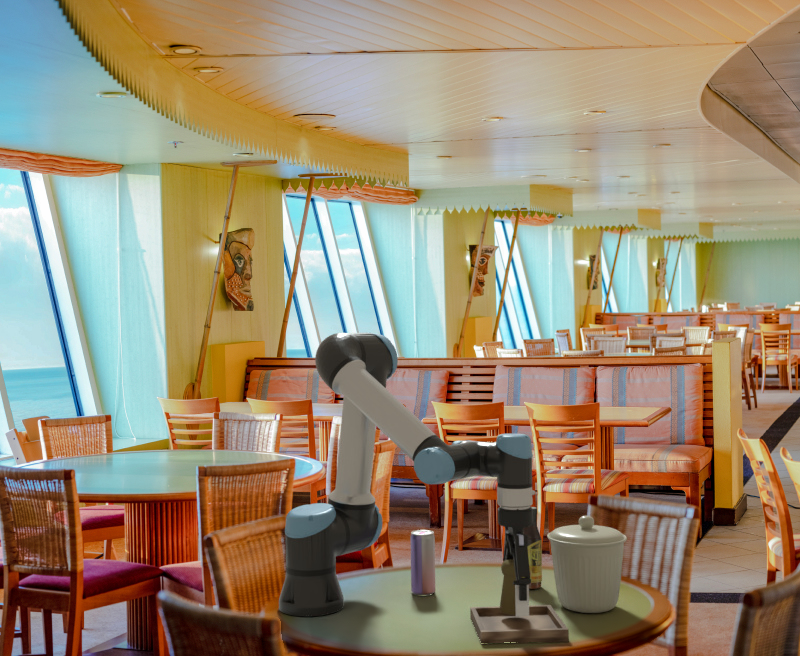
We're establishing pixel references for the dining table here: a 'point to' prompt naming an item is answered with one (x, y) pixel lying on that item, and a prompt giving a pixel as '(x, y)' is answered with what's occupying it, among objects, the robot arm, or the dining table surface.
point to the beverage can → (422, 562)
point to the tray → (519, 625)
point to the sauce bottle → (534, 552)
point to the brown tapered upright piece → (508, 588)
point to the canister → (587, 565)
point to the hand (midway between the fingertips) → (516, 606)
